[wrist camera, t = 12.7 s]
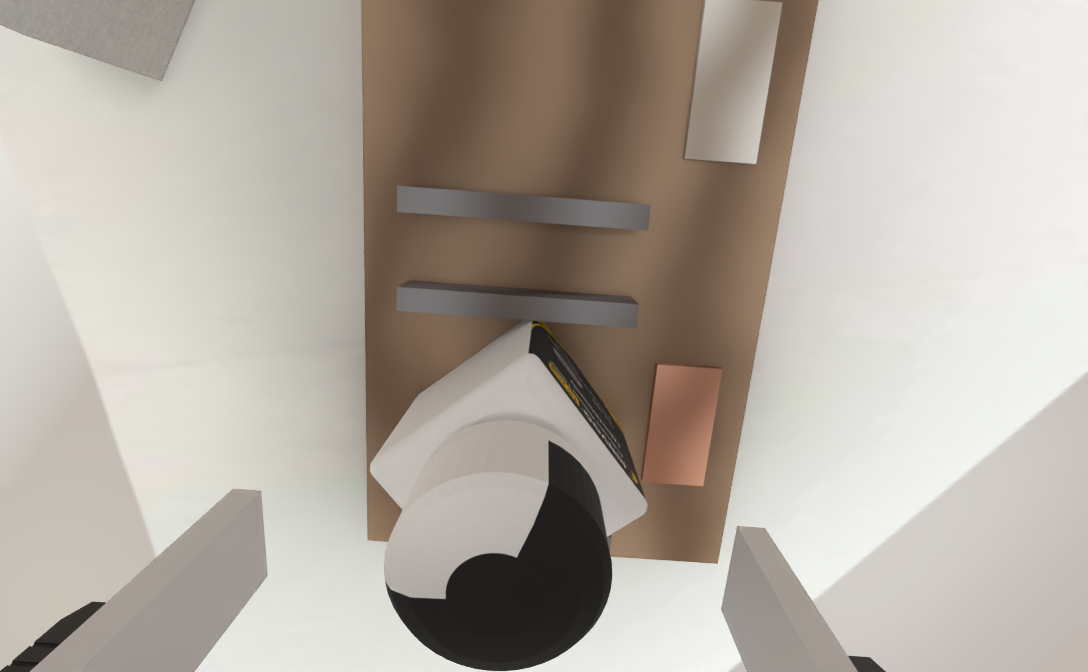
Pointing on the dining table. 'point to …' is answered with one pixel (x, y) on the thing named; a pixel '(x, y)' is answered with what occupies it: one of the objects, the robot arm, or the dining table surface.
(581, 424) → the medicine bottle
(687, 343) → the stand
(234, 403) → the dining table surface
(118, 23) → the grey boxy piece
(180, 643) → the robot arm
